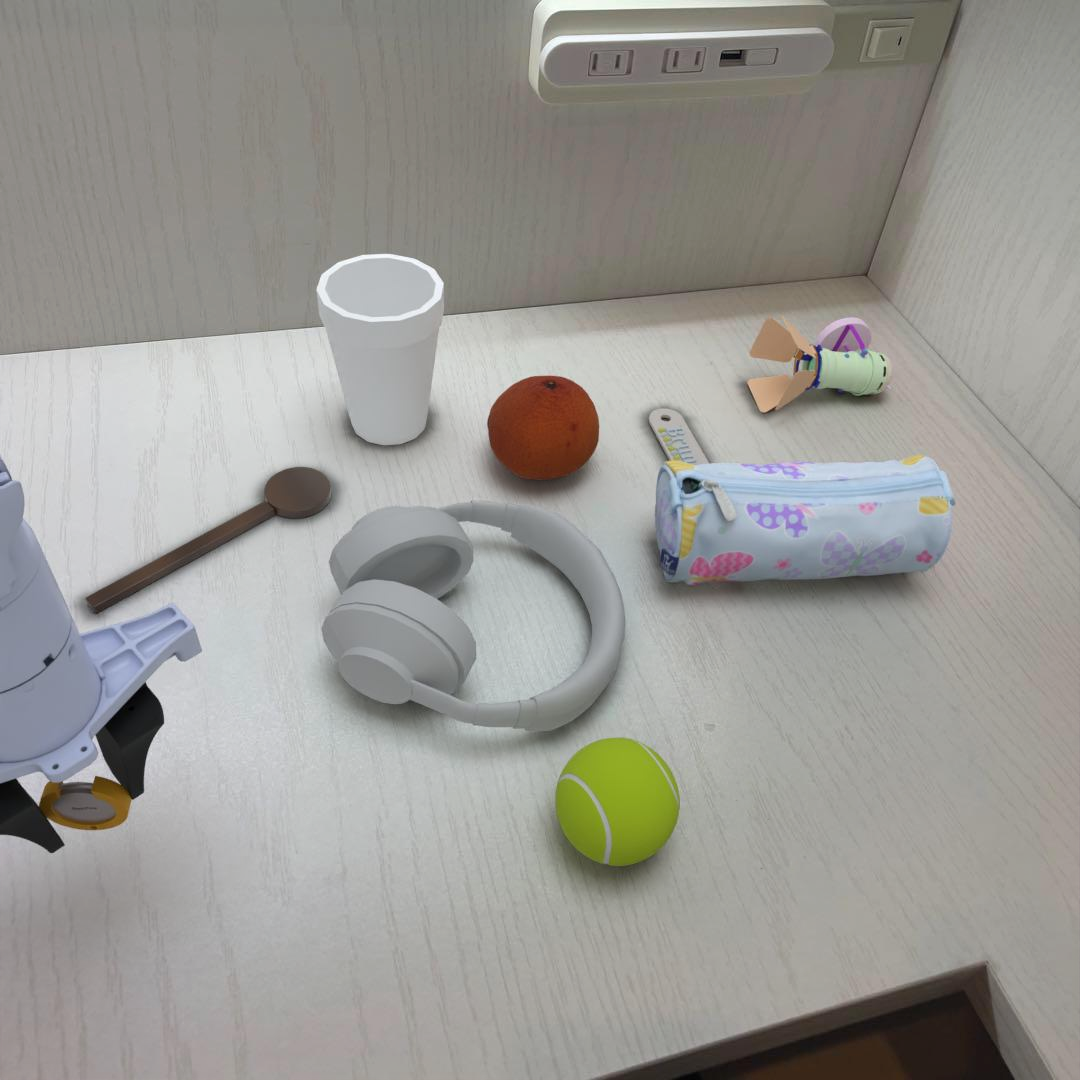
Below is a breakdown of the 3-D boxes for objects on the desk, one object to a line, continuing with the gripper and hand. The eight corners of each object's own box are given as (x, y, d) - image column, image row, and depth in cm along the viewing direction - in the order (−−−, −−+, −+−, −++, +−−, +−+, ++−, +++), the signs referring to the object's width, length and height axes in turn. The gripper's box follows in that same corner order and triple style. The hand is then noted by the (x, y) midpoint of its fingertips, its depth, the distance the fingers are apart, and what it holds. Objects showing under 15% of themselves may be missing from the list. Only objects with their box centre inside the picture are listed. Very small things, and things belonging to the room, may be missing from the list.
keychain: (644, 407, 84) (676, 403, 85) (643, 413, 85) (675, 409, 86) (689, 489, 78) (723, 483, 78) (687, 494, 78) (722, 489, 79)
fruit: (568, 418, 84) (577, 341, 78) (609, 486, 78) (621, 408, 73) (471, 437, 81) (472, 358, 76) (506, 508, 76) (510, 429, 70)
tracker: (53, 831, 48) (28, 792, 45) (57, 816, 49) (33, 776, 46) (136, 829, 48) (116, 790, 46) (140, 814, 49) (120, 774, 46)
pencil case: (653, 605, 70) (675, 512, 63) (636, 520, 76) (654, 426, 69) (931, 600, 72) (981, 509, 65) (893, 517, 78) (935, 425, 71)
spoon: (109, 630, 65) (106, 622, 65) (73, 588, 68) (70, 581, 67) (344, 497, 76) (343, 490, 75) (306, 465, 78) (304, 457, 77)
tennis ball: (623, 759, 61) (638, 695, 56) (692, 849, 57) (715, 789, 52) (529, 810, 58) (536, 748, 53) (595, 909, 54) (609, 852, 49)
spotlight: (766, 425, 85) (803, 358, 80) (737, 362, 90) (771, 296, 85) (882, 433, 89) (926, 369, 83) (848, 372, 94) (887, 309, 88)
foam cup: (309, 420, 82) (290, 284, 72) (390, 373, 87) (382, 241, 77) (388, 473, 78) (378, 337, 68) (467, 421, 83) (469, 288, 73)
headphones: (309, 750, 59) (624, 765, 63) (314, 675, 54) (659, 696, 57) (333, 533, 72) (594, 556, 76) (339, 454, 66) (620, 484, 70)
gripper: (-173, 825, 32) (-26, 975, 42) (213, 602, 40) (262, 773, 49) (-243, 694, 35) (-91, 861, 45) (126, 510, 43) (188, 688, 53)
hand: (88, 809), depth 48 cm, fingers closed on tracker, 3 cm apart
